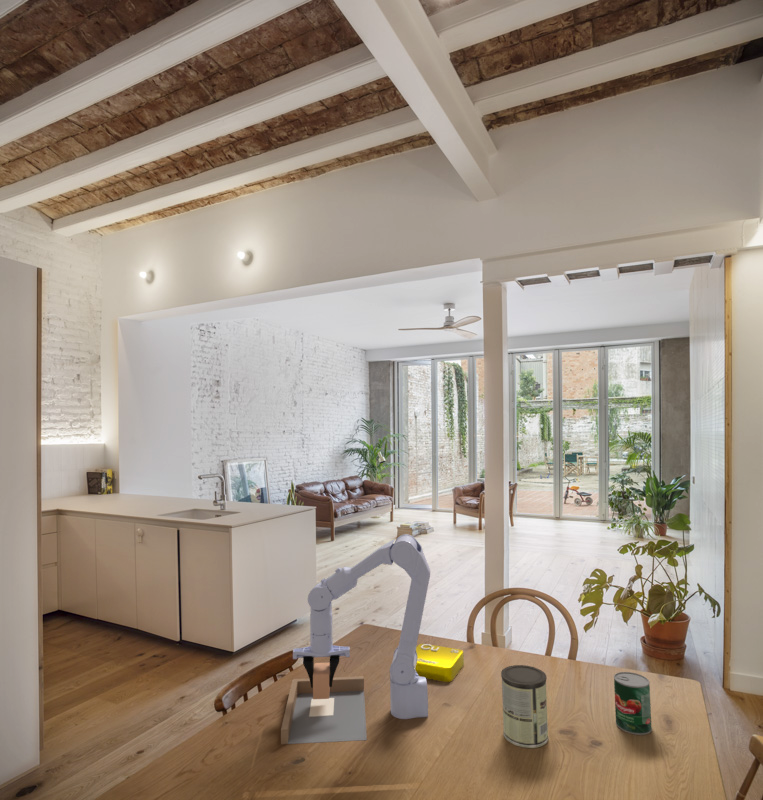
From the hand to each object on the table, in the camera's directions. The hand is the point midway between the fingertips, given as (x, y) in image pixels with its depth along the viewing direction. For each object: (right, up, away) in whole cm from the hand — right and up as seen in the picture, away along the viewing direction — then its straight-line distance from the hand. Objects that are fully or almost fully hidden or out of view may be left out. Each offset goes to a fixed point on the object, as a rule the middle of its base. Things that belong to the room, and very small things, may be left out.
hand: (321, 685), depth 141 cm
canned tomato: (+76, -5, -10) cm, 77 cm away
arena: (+2, -6, -4) cm, 7 cm away
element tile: (+31, -8, +24) cm, 40 cm away
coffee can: (+49, -5, -14) cm, 51 cm away
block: (0, -2, 0) cm, 2 cm away
